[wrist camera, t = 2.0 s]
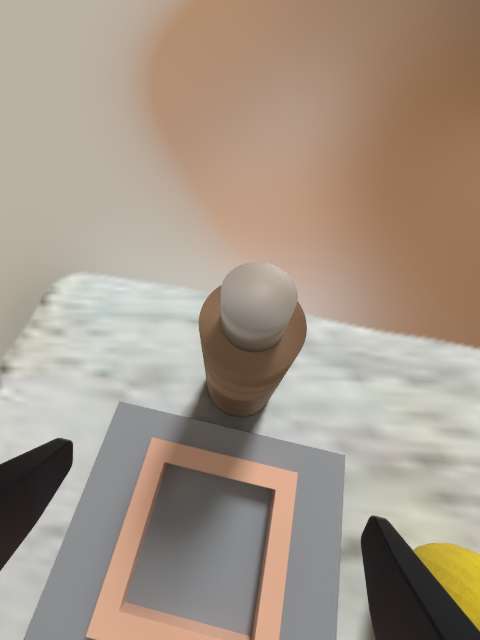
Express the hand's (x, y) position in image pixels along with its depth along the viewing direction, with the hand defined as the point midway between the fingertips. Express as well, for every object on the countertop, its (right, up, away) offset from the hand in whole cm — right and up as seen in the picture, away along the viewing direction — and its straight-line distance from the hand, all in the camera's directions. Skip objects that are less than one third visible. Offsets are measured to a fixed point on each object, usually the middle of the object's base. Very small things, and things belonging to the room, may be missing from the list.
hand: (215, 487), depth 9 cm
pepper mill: (+1, 0, +14) cm, 14 cm away
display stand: (-1, -9, +10) cm, 13 cm away
